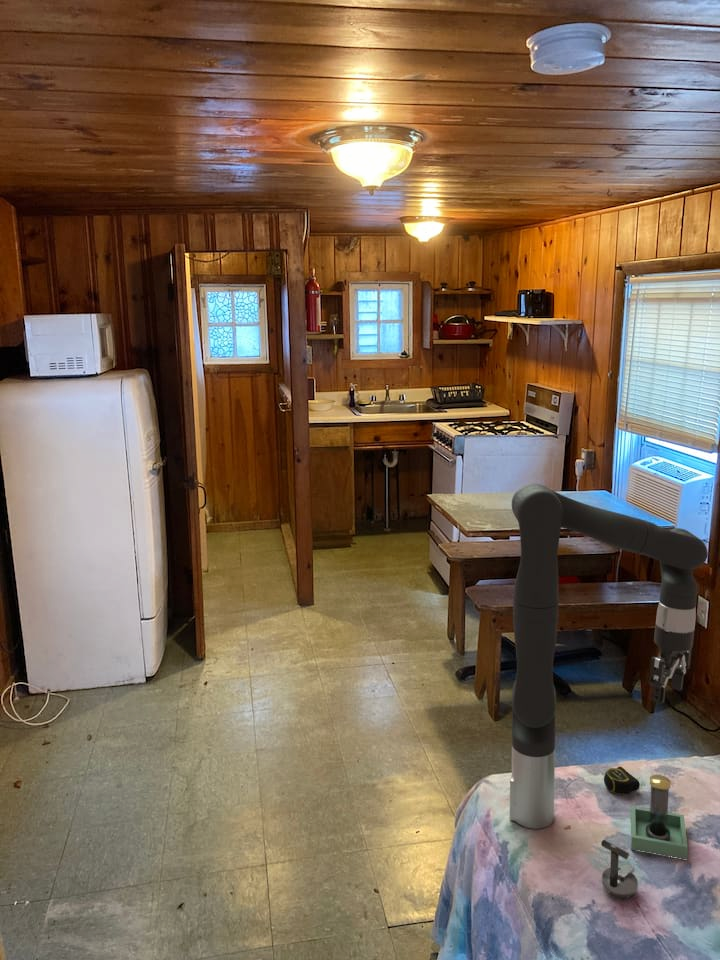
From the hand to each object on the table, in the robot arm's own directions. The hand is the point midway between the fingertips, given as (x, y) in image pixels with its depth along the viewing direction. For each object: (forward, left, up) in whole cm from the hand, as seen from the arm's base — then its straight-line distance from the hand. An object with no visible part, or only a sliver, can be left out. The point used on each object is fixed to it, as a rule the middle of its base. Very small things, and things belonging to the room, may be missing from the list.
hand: (667, 695), depth 158 cm
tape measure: (-9, +8, -29) cm, 32 cm away
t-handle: (-9, -26, -29) cm, 40 cm away
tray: (-1, -8, -29) cm, 30 cm away
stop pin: (-1, -8, -28) cm, 29 cm away
